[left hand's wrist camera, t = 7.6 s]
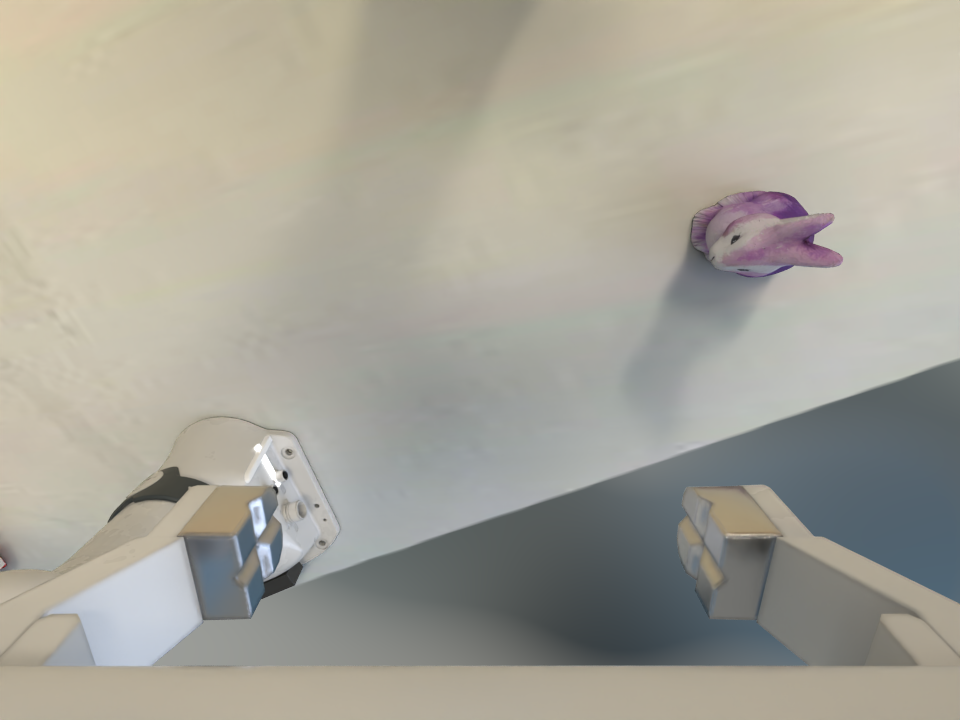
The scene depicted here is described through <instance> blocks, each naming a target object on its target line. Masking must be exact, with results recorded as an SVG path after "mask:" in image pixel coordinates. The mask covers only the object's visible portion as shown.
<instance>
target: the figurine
mask: <svg viewBox="0 0 960 720" xmlns="http://www.w3.org/2000/svg"><path fill="white" fill-rule="evenodd" d="M833 220H834V215H833V214H831V213H822V214H813V215H808V213H807V212H806V210H805V209H804V208H803V207H802V206H801V205H800V203H799V202H798V201H797V200H796V199H795V198H794V197H792V196H790V195H788V194H785V193H780V192H764V191H753V192H744V193H738V194H734V195H730V196H727V197H725V198H724V199H722V200H720V201H719V202H718V203H717V204H716V205H715V206H711V207H709V208H705V209H703V210H700V211H699V212H698V213H696V214H695V217H694V218H693V226H692V227H693V228H692V231H691V232H692V234H691V235H692V236H691V241H692V245H693V246H694V247H695V248H696V249H698V250H700V251H702V252H704V253H705V257H706V259H707V260H709V261H710V262H711V263H712V264H713V266H714V267H715V268H716V269H719V270H722V271H730V272H735V273H737V274H739V275H742V276H746V277H764V276H768V275H772V274H776V273H779V272H782V271H785V270H787V269H789V268H791V267H793V266H794V265H795V266H804V267H820V268H830V267H836V266H839V265H840V264H841V263H842V262H843V257H842V256H841V255H840V254H839V253H837V252H835V251H832V250H830V249H828V248H825V247H822V246H819V245H815V244H813V241H814V234H816V233H818V232H819V231H821V230H822V229H824V228H825V227H827V226H828V225H830V224H831V223H832V222H833Z"/></svg>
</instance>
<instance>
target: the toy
mask: <svg viewBox="0 0 960 720" xmlns="http://www.w3.org/2000/svg"><path fill="white" fill-rule="evenodd" d="M6 565H7V564H6V563H5V562H4V561H3V559H2V558H1V557H0V569H1V568H4V567H5V566H6Z"/></svg>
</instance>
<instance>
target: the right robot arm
mask: <svg viewBox="0 0 960 720" xmlns="http://www.w3.org/2000/svg"><path fill="white" fill-rule="evenodd" d="M287 449H290V450H292V452H289V451H288V450H287ZM197 485H220V486H222V485H233V486H271V487H272V488H273V489H274V490H275V491H276V495H277V500H278V507H277V508H276V510H275V512H274V513H273V516H274V517H275V518H276V519H277V520H278V521H279V522H280V523H281V525H282V532H283V548H282V552H281V557H280V561H279V563H278V566H277V568H276V570H275V572H274V573H273V574H272V575H270V576H269V577H268V578H266V579H265V580H263V581H264V587H265V592H264V594H263V596H262V598H261V599H263V598H265V597H268V596H270V595H273V594H275V593H277V592H280V591H282V590H285V589H287V588H289V587H292V586H294V585H295V583H296V581H297V579H298V577H299V574H300V572H301V570H302V568H303V566H302V565H303V564H305V563H307V562H309V561H311V560H312V559H314V558H316V557H317V556H319V555H320V554H322V553H323V552H324V551H325V550H326V549H328V548H329V547H330V545H331V544H332V543H333V542H334V540H335V539H336V537H337V535H338V533H339V531H340V527H339V524H338V522H337V520H336V518H335V516H334V513H333V511H332V509H331V507H330V505H329V503H328V501H327V499H326V497H325V495H324V493H323V491H322V489H321V487H320V485H319V483H318V481H317V479H316V477H315V475H314V473H313V471H312V469H311V467H310V464H309V462H308V460H307V458H306V456H305V454H304V452H303V450H302V448H301V446H300V444H299V442H298V440H297V438H296V437H295V435H293V434H292V433H290V432H287V431H281V430H267V429H264V428H261V427H259V426H257V425H254V424H252V423H250V422H247V421H244V420H240V419H236V418H230V417H214V418H208V419H204V420H201V421H198V422H196V423H194V424H192V425H190V426H189V427H187V428H186V429H185V430H184V431H183V432H182V433H181V434H180V435H179V436H178V438H177V439H176V441H175V443H174V445H173V448H172V450H171V452H170V454H169V456H168V458H167V459H166V461H165V462H164V464H163V465H162V466H161V468H160V469H159V470H158V472H156V473H154V474H153V475H151V476H150V477H148V478H147V479H146V480H145V481H143V482H142V483H141V484H140V485H139V486H138V487H137V488H136V489H134V490H133V491H132V492H131V493H130V494H129V495H128V496H127V497H126V498H127V499H126V500H125V501H124V502H123V503H122V504H121V505H120V506H119V507H118V508H117V509H116V510H115V511H114V512H113V514H112V515H111V517H110V518H109V520H108V523H107V524H106V525H105V526H104V527H103V528H102V529H101V530H100V531H99V532H98V533H97V534H96V535H95V536H94V537H93V538H91V539H90V540H89V541H88V542H87V543H86V544H85V545H84V546H83V547H82V548H81V549H79V550H78V551H77V552H76V553H75V554H74V555H73V556H72V557H71V558H70V559H68V560H67V561H66V562H65V563H63V564H62V565H61V566H59V567H58V568H56V569H55V570H53V571H45V570H34V569H21V570H9V571H2V572H0V604H1V603H3V602H5V601H7V600H9V599H11V598H13V597H15V596H17V595H19V594H21V593H23V592H25V591H28V590H30V589H32V588H34V587H36V586H38V585H40V584H42V583H44V582H46V581H48V580H50V579H52V578H54V577H56V576H58V575H60V574H62V573H64V572H66V571H68V570H71V569H73V568H75V567H77V566H79V565H81V564H83V563H85V562H87V561H89V560H91V559H93V558H95V557H97V556H99V555H101V554H103V553H105V552H107V551H109V550H111V549H114V548H116V547H118V546H120V545H122V544H124V543H126V542H128V541H130V540H132V539H134V538H136V537H146V536H147V535H148V534H149V533H150V532H151V530H152V529H153V528H154V527H155V526H156V525H157V524H158V523H159V522H160V520H161V519H162V518H163V517H164V516H165V515H166V514H167V513H168V512H169V511H170V509H171V508H172V507H173V506H174V505H175V504H176V503H177V502H178V501H179V500H180V498H181V497H182V496H183V495H184V494H185V493H186V492H187V491H188V490H189V489H190V488H191V487H193V486H197ZM322 541H324V542H322Z"/></svg>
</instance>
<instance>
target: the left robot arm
mask: <svg viewBox="0 0 960 720" xmlns="http://www.w3.org/2000/svg"><path fill="white" fill-rule="evenodd" d="M277 507H278V500H277V495H276V491H275V490H274V489H273V488H272V487H271V486H233V485H222V486H220V485H197V486H193V487H191V488H190V489H189V490H188V491H187V492H186V493H185V494H184V495H183V496H182V497H181V498H180V500H179V501H178V502H177V503H176V504H175V505H174V506H173V507H172V508H171V509H170V511H169V512H168V513H167V514H166V515H165V516H164V517H163V518H162V519H161V520H160V522H159V523H158V524H157V525H156V526H155V527H154V528H153V529H152V530H151V532H150V533H149V534H148V535H147V536H146V537H136V538H134V539H132V540H130V541H128V542H126V543H124V544H122V545H120V546H118V547H116V548H114V549H111V550H109V551H107V552H105V553H103V554H101V555H99V556H97V557H95V558H93V559H91V560H89V561H87V562H85V563H83V564H81V565H79V566H77V567H75V568H73V569H71V570H68V571H66V572H64V573H62V574H60V575H58V576H56V577H54V578H52V579H50V580H48V581H46V582H44V583H42V584H40V585H38V586H36V587H34V588H32V589H30V590H28V591H25V592H23V593H21V594H19V595H17V596H15V597H13V598H11V599H9V600H7V601H5V602H3V603H1V604H0V720H960V604H959V603H957V602H955V601H953V600H951V599H948V598H946V597H944V596H942V595H940V594H938V593H936V592H934V591H932V590H930V589H928V588H926V587H924V586H922V585H920V584H918V583H916V582H914V581H912V580H910V579H908V578H906V577H904V576H902V575H899V574H897V573H895V572H893V571H891V570H889V569H887V568H885V567H883V566H881V565H879V564H877V563H875V562H873V561H871V560H869V559H867V558H865V557H863V556H861V555H859V554H857V553H855V552H853V551H850V550H848V549H846V548H844V547H842V546H840V545H838V544H836V543H834V542H832V541H830V540H828V539H826V538H824V537H814V536H813V535H812V534H811V533H810V532H809V530H808V529H807V528H806V527H805V526H804V525H803V524H802V523H801V522H800V521H799V519H798V518H797V517H796V516H795V515H794V514H793V513H792V512H791V511H790V509H789V508H788V507H787V506H786V505H785V504H784V503H783V502H782V501H781V500H780V498H779V497H778V496H777V495H776V494H775V493H774V492H773V491H772V490H771V489H770V488H769V487H767V486H765V485H743V486H717V487H687V488H686V490H685V492H684V494H683V500H682V507H683V508H684V510H685V512H686V513H687V516H686V517H685V518H684V519H683V520H682V521H681V522H680V523H679V525H678V533H677V545H678V554H679V557H680V561H681V564H682V566H683V568H684V570H685V572H686V573H687V574H688V575H690V576H691V577H692V578H694V579H695V580H697V581H696V588H695V592H696V594H697V596H698V598H699V600H700V601H701V603H702V605H703V607H704V609H705V611H706V613H707V615H708V617H709V619H735V620H757V623H758V624H759V625H760V626H762V627H763V628H764V629H765V630H766V631H768V632H769V633H770V634H771V635H772V636H774V637H775V638H776V639H777V640H778V641H780V642H781V643H782V644H783V645H785V646H786V647H787V648H788V649H789V650H791V651H792V652H793V653H794V654H795V655H797V656H798V657H799V658H800V659H801V660H803V661H804V662H805V663H806V664H808V665H809V666H152V665H153V664H154V663H155V662H156V661H158V660H159V659H160V658H161V657H162V656H164V655H165V654H166V653H167V652H168V651H170V650H171V649H172V648H173V647H174V646H176V645H177V644H178V643H179V642H181V641H182V640H183V639H184V638H185V637H187V636H188V635H189V634H190V633H191V632H193V631H194V630H195V629H196V628H197V627H199V626H200V625H201V624H202V623H203V620H224V619H251V617H252V615H253V613H254V611H255V609H256V607H257V605H258V603H259V602H260V600H261V598H262V596H263V594H264V592H265V587H264V581H263V580H265V579H266V578H268V577H269V576H270V575H272V574H273V573H274V572H275V570H276V568H277V566H278V563H279V561H280V557H281V552H282V548H283V532H282V525H281V523H280V522H279V521H278V520H277V519H276V518H275V517H274V516H273V513H274V512H275V510H276V508H277Z"/></svg>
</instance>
